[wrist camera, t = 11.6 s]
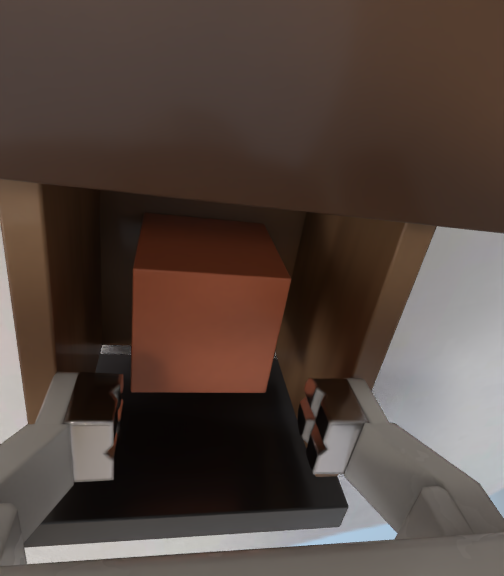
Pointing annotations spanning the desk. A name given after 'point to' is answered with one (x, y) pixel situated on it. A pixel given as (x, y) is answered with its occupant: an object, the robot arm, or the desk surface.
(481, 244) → the desk surface
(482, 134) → the cabinet
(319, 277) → the drawer
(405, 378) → the desk surface
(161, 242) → the block
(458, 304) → the desk surface
